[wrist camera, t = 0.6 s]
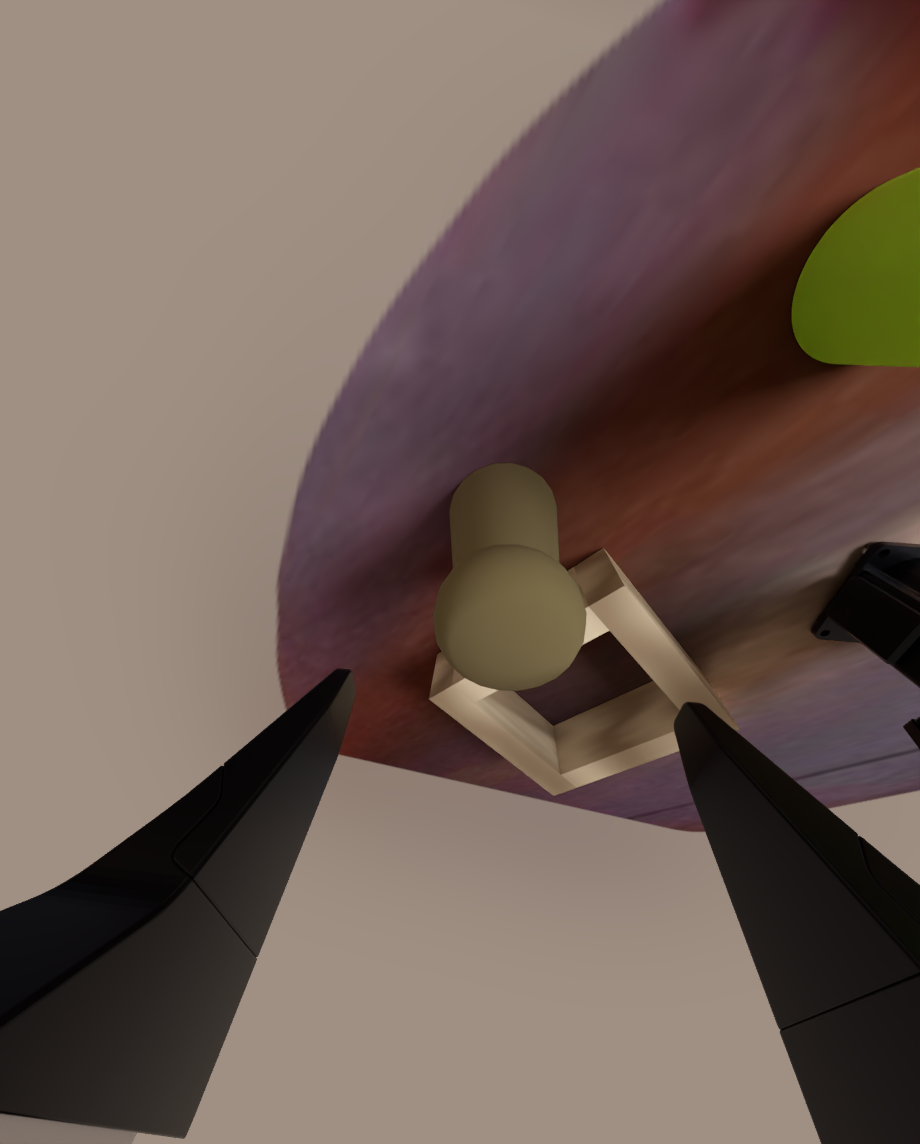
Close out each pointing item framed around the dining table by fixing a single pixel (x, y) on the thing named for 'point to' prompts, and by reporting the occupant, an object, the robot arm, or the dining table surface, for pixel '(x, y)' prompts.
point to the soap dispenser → (865, 282)
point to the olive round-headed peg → (507, 584)
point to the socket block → (606, 731)
